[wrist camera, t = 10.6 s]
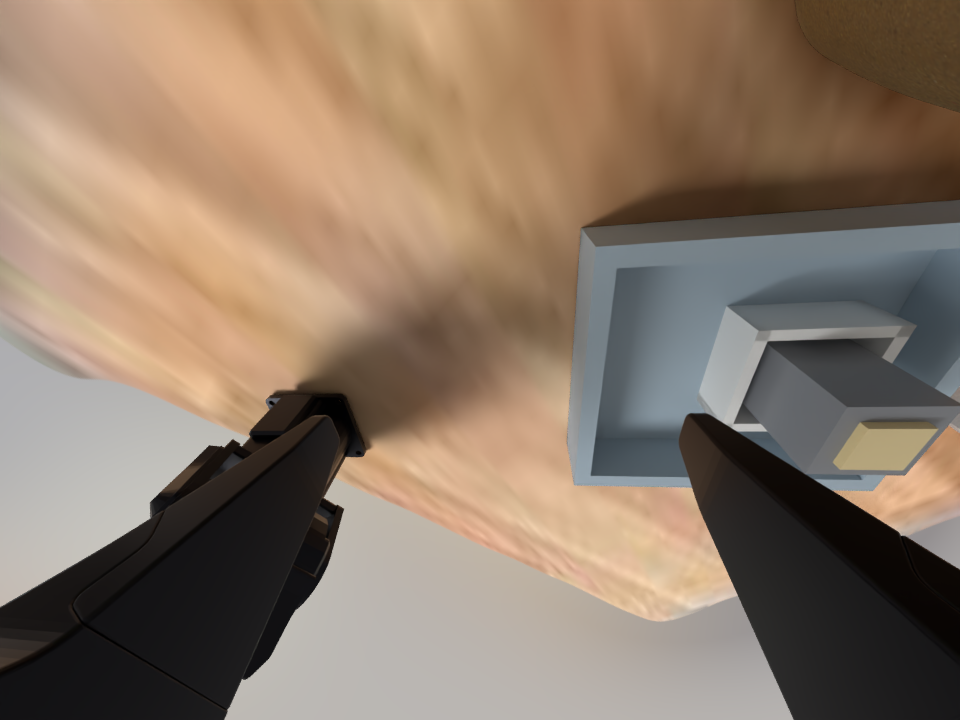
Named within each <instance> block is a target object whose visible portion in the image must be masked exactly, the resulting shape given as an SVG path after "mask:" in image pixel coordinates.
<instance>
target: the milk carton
mask: <svg viewBox="0 0 960 720" xmlns="http://www.w3.org/2000/svg"><path fill="white" fill-rule="evenodd" d="M950 398H952V399H954V400H955V401H957V402H959V403H960V387H959V388H958V389H957V390H956V391H955V392H954V394H953V395H952V396H951V397H950ZM949 426H950V427H952V428H953V429H954V430H956V431H957V432H959V433H960V413H959V414H958V415H957V416H956V417H955V419H954V420H953V421H952V422H951V423H950V424H949Z"/></svg>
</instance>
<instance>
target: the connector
mask: <svg viewBox="0 0 960 720" xmlns="http://www.w3.org/2000/svg"><path fill="white" fill-rule="evenodd" d="M742 403H743V404H744V405H745V406H746V407H747V409H748V410H749V411H750V412H751V413H752V414H753V415H754V417H755V418H756V419H757V420H758V421H759V422H760V423H761V425H762V426H763V427H764V428H765V429H766V430H767V431H768V433H769V434H770V435H771V436H772V437H773V438H774V439H775V440H776V442H777V443H778V444H779V445H780V446H781V447H782V448H783V450H784V451H785V452H786V453H787V454H788V455H789V456H790V458H791V459H792V460H793V461H794V462H795V463H796V464H797V466H798V467H799V468H800V469H801V470H802V471H803V472H804V473H805V474H836V475H906V474H907V472H908V471H909V470H910V469H911V468H912V467H913V466H914V464H915V463H916V462H917V461H918V460H919V459H920V457H921V456H922V455H923V454H924V453H925V452H926V451H927V449H928V448H929V447H930V446H931V445H932V444H933V443H934V441H935V440H936V439H937V438H938V437H939V436H940V435H941V433H942V432H943V431H944V430H945V429H946V428H947V427H948V425H949V424H950V423H951V422H952V421H953V420H954V419H955V417H956V416H957V415H958V414H959V413H960V403H959V402H957V401H955V400H954V399H952V398H950V397H949V396H947V395H945V394H943V393H942V392H940V391H938V390H937V389H935V388H933V387H931V386H930V385H928V384H926V383H925V382H923V381H921V380H919V379H918V378H916V377H914V376H913V375H911V374H909V373H907V372H906V371H904V370H902V369H901V368H899V367H897V366H895V365H894V364H892V363H890V362H888V361H887V360H885V359H883V358H882V357H880V356H878V355H876V354H875V353H873V352H871V351H870V350H868V349H866V348H864V347H863V346H861V345H859V344H858V343H856V342H854V341H852V340H851V339H822V340H790V341H767V344H766V346H765V349H764V351H763V353H762V356H761V358H760V361H759V363H758V366H757V368H756V370H755V373H754V375H753V378H752V380H751V382H750V385H749V387H748V390H747V392H746V394H745V397H744V399H743V402H742Z"/></svg>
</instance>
